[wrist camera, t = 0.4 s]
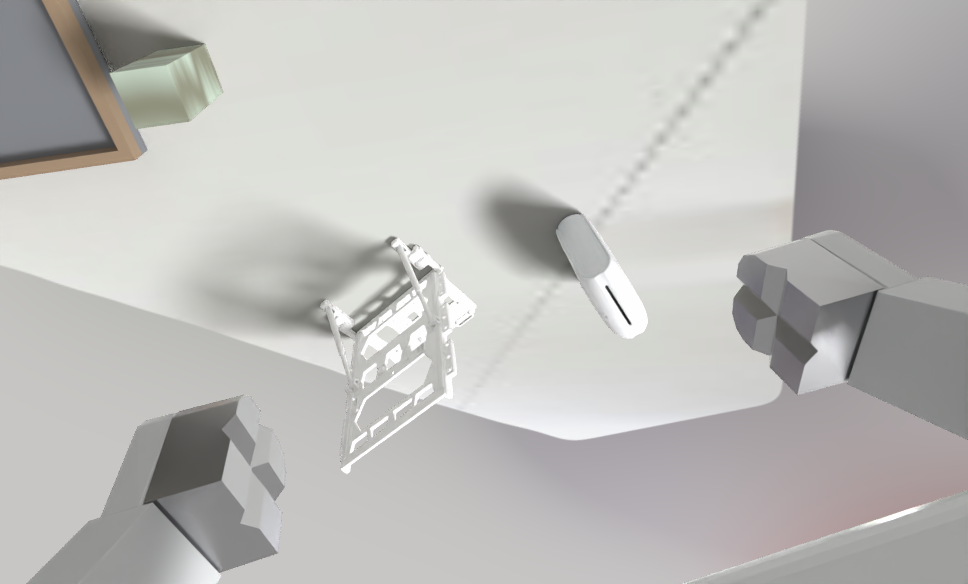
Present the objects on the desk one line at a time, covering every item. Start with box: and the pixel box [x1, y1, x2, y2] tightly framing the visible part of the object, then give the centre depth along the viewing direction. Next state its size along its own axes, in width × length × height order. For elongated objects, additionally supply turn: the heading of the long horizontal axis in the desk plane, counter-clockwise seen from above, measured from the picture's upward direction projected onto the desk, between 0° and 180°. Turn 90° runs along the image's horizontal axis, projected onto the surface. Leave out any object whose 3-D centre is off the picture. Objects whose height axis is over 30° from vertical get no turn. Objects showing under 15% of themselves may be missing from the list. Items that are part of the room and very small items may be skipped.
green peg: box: [109, 44, 223, 129], centre depth 43 cm, size 4×4×9 cm
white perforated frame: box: [320, 238, 477, 474], centre depth 55 cm, size 14×14×20 cm
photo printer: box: [556, 214, 647, 339], centre depth 56 cm, size 10×4×12 cm, turn 33°
